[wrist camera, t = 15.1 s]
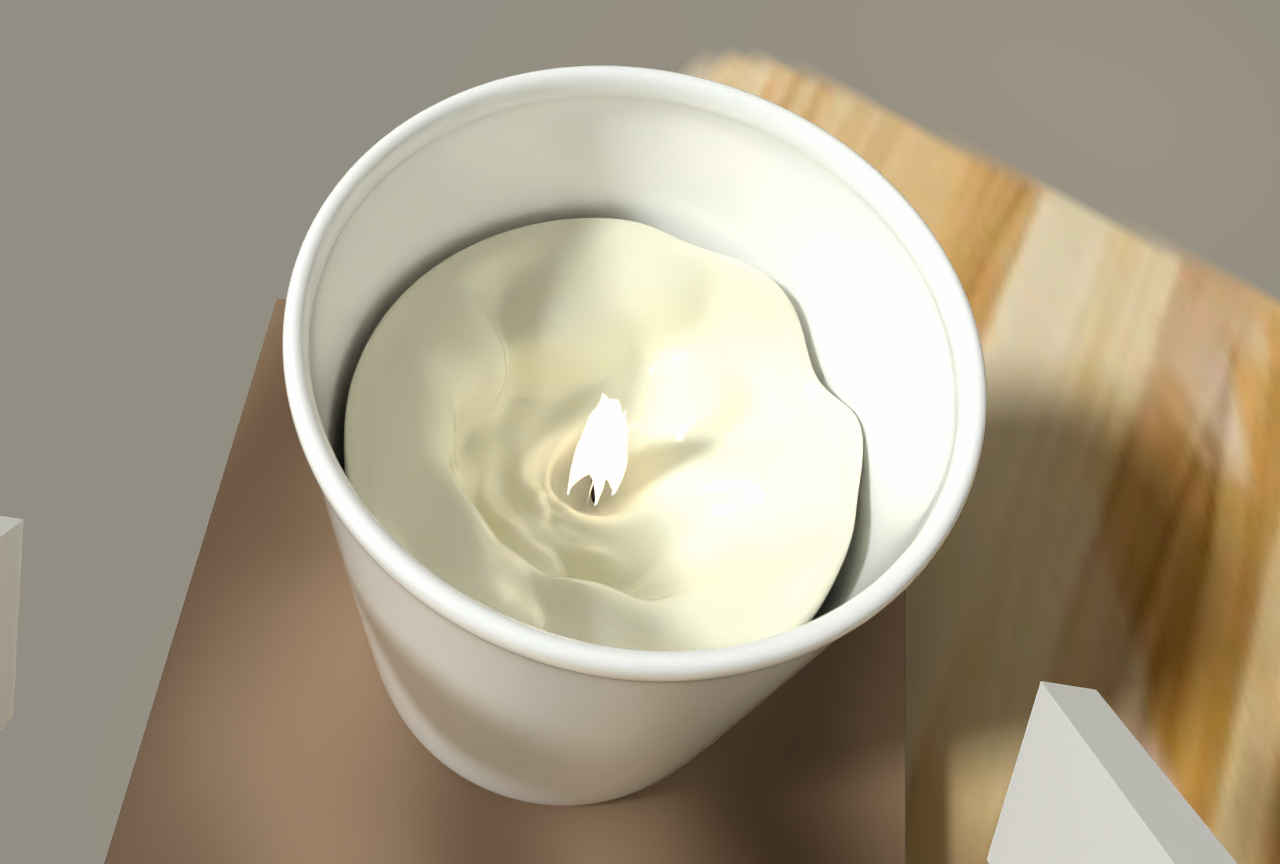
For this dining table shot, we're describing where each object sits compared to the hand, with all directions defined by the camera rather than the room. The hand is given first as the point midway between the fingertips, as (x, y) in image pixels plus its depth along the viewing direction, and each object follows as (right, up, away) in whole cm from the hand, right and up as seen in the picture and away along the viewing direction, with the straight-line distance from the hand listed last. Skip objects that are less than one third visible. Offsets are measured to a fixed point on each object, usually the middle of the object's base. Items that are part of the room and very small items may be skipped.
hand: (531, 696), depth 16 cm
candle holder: (0, -1, +12) cm, 12 cm away
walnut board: (-1, -2, +13) cm, 13 cm away
